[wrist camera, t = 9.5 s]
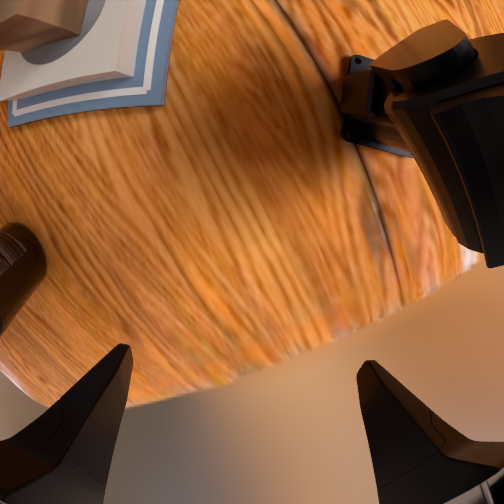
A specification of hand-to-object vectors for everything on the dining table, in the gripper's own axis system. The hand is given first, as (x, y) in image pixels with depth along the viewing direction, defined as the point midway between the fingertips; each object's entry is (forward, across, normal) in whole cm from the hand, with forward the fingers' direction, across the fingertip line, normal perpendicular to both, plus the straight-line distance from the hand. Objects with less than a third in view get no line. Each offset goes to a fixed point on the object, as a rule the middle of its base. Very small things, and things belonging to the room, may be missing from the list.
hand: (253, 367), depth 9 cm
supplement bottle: (+12, +21, +5) cm, 24 cm away
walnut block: (+8, +14, -15) cm, 22 cm away
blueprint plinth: (+12, +14, -15) cm, 24 cm away
